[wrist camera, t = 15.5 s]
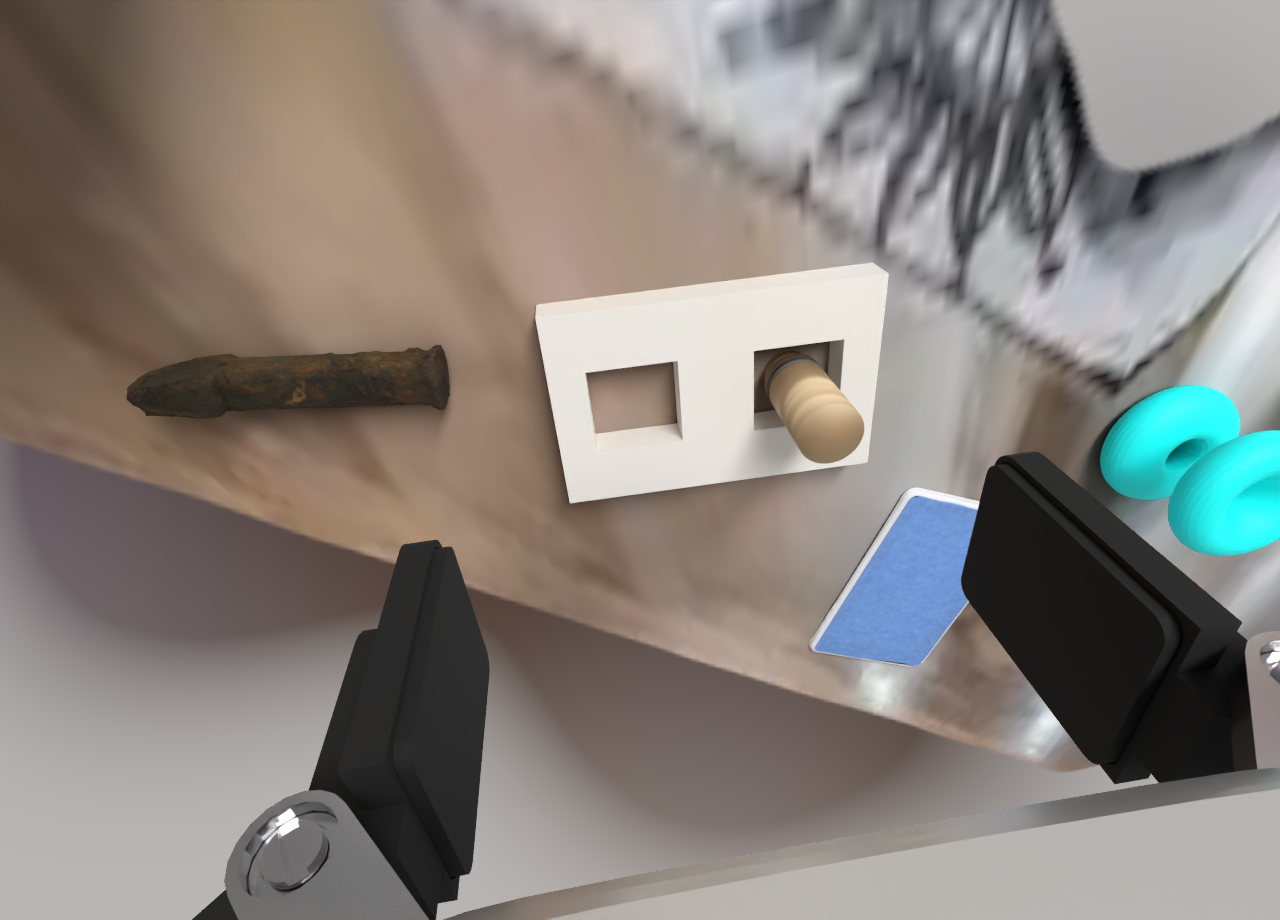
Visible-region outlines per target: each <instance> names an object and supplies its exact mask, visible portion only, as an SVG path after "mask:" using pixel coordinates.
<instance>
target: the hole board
mask: <svg viewBox="0 0 1280 920" xmlns="http://www.w3.org/2000/svg"><path fill="white" fill-rule="evenodd" d="M888 277H889V273H887V272H886V271H884V270H883V269H881V268H880V267H878V266H877V265H875V264H874V263H866V264H858V265H850V266H842V267H834V268H826V269H818V270H810V271H802V272H794V273H786V274H778V275H770V276H762V277H754V278H746V279H738V280H730V281H722V282H714V283H706V284H698V285H690V286H682V287H674V288H666V289H658V290H650V291H642V292H634V293H626V294H618V295H610V296H602V297H594V298H586V299H578V300H570V301H563V302H555V303H547V304H539V305H536V316H535V319H536V325H537V330H538V336H539V341H540V346H541V352H542V357H543V362H544V368H545V373H546V378H547V384H548V389H549V394H550V400H551V405H552V410H553V416H554V421H555V426H556V432H557V437H558V443H559V448H560V453H561V459H562V464H563V469H564V475H565V480H566V485H567V491H568V496H569V501H570V503H577V502H584V501H591V500H599V499H606V498H613V497H620V496H628V495H635V494H642V493H649V492H657V491H664V490H671V489H679V488H686V487H693V486H700V485H708V484H715V483H722V482H729V481H737V480H744V479H751V478H759V477H766V476H773V475H780V474H788V473H795V472H802V471H809V470H817V469H824V468H831V467H839V466H846V465H853V464H860V463H867V462H868V453H869V444H870V435H871V426H872V418H873V409H874V400H875V391H876V382H877V373H878V365H879V356H880V347H881V338H882V329H883V321H884V312H885V303H886V294H887V285H888ZM828 341H830V348H829V362H828V376H829V378H830V379H831V380H832V381H833V382H834V384H835V385H836V386H837V387H838V388H839V390H840V391H841V392H842V393H843V394H844V396H845V397H846V398H847V399H848V401H849V402H850V403H851V404H852V405H853V407H854V408H855V409H856V410H857V411H858V413H859V414H860V415H861V417H862V419H863V422H864V435H863V438H862V440H861V442H860V444H859V445H858V447H857V448H856V449H855V450H854V451H853V452H852V453H851V454H850V455H848V456H847V457H845V458H844V459H842V460H839V461H837V462H833V463H827V464H820V463H815V462H812V461H810V460H808V459H807V458H806V457H805V456H804V455H803V454H802V453H801V451H800V449H799V448H798V446H797V444H796V443H795V441H794V440H793V438H792V436H791V435H790V433H789V431H788V430H787V428H786V426H785V425H784V423H783V421H782V420H781V418H780V416H779V415H778V413H777V411H776V410H772V411H765V412H757V413H754V351H758V350H766V349H774V348H781V347H789V346H797V345H805V344H812V343H820V342H828ZM666 362H673V367H674V381H675V395H676V410H677V423H675V424H667V425H660V426H652V427H645V428H637V429H630V430H622V431H615V432H607V433H600V434H595V428H594V421H593V414H592V408H591V401H590V394H589V388H588V381H587V374H586V373H589V372H596V371H604V370H612V369H619V368H627V367H635V366H643V365H650V364H658V363H666Z"/></svg>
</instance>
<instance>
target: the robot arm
mask: <svg viewBox="0 0 1280 920" xmlns="http://www.w3.org/2000/svg"><path fill="white" fill-rule="evenodd" d="M961 586H962V590H963V593H964V595H965V597H966V598H967V600H968V601H969V602H970V604H971V605H972V606H973V608H974V609H975V610H976V612H977V613H978V614H979V616H980V617H981V618H982V620H983V621H984V622H985V624H986V625H987V626H988V628H989V629H990V630H991V632H992V633H993V634H994V636H995V637H996V638H997V640H998V641H999V642H1000V644H1001V645H1002V646H1003V648H1004V649H1005V650H1006V652H1007V653H1008V654H1009V656H1010V657H1011V658H1012V660H1013V661H1014V662H1015V664H1016V665H1017V666H1018V668H1019V669H1020V670H1021V672H1022V673H1023V674H1024V676H1025V677H1026V678H1027V680H1028V681H1029V682H1030V684H1031V685H1032V686H1033V688H1034V689H1035V690H1036V692H1037V693H1038V694H1039V696H1040V697H1041V698H1042V700H1043V701H1044V702H1045V704H1046V705H1047V706H1048V708H1049V709H1050V710H1051V712H1052V713H1053V714H1054V716H1055V717H1056V718H1057V720H1058V721H1059V722H1060V724H1061V725H1062V726H1063V728H1064V729H1065V730H1066V732H1067V733H1068V734H1069V736H1070V737H1071V738H1072V740H1073V741H1074V742H1075V744H1076V745H1077V746H1078V748H1079V749H1080V750H1081V752H1082V753H1083V754H1084V756H1085V757H1086V758H1087V759H1088V760H1089V761H1091V762H1092V763H1094V764H1097V765H1098V764H1100V766H1101V767H1102V768H1103V770H1104V771H1105V772H1106V773H1107V775H1108V776H1109V777H1110V779H1111V780H1112V781H1113V783H1114V784H1118V783H1124V782H1130V781H1135V780H1141V779H1146V778H1149V776H1150V774H1152V775H1153V776H1154V777H1155V779H1156V780H1157V781H1158V782H1159V783H1157V784H1151V785H1145V786H1138V787H1132V788H1126V789H1121V790H1115V791H1109V792H1103V793H1097V794H1091V795H1086V796H1080V797H1074V798H1068V799H1062V800H1056V801H1050V802H1045V803H1039V804H1033V805H1027V806H1021V807H1015V808H1009V809H1003V810H998V811H992V812H986V813H980V814H975V815H969V816H964V817H957V818H952V819H946V820H940V821H935V822H929V823H924V824H918V825H912V826H906V827H900V828H895V829H889V830H884V831H878V832H872V833H867V834H861V835H855V836H850V837H844V838H838V839H833V840H828V841H822V842H816V843H810V844H804V845H799V846H793V847H788V848H782V849H777V850H771V851H766V852H760V853H755V854H749V855H744V856H738V857H733V858H727V859H722V860H716V861H711V862H705V863H700V864H695V865H689V866H683V867H678V868H672V869H667V870H661V871H656V872H650V873H645V874H639V875H634V876H628V877H623V878H618V879H614V880H609V881H604V882H599V883H593V884H588V885H584V886H579V887H574V888H569V889H564V890H559V891H554V892H549V893H544V894H539V895H534V896H529V897H524V898H520V899H515V900H511V901H508V902H504V903H500V904H496V905H492V906H488V907H484V908H480V909H476V910H472V911H468V912H464V913H462V914H459V915H456V916H453V917H450V918H447V919H444V920H1280V632H1265V633H1261V634H1257V635H1255V636H1254V637H1252V638H1251V639H1250V640H1249V641H1247V640H1246V639H1245V638H1244V637H1243V636H1242V635H1240V634H1239V633H1238V632H1237V630H1238V629H1239V627H1240V625H1241V624H1242V622H1241V621H1240V620H1239V619H1237V618H1236V617H1235V616H1234V615H1233V614H1232V613H1230V612H1229V611H1228V610H1227V609H1226V608H1224V607H1223V606H1222V605H1221V604H1220V603H1218V602H1217V601H1216V600H1215V599H1214V598H1213V597H1211V596H1210V595H1209V594H1208V593H1207V592H1205V591H1204V590H1203V589H1202V588H1201V587H1199V586H1198V585H1197V584H1196V583H1195V582H1193V581H1192V580H1191V579H1190V578H1189V577H1188V576H1186V575H1185V574H1184V573H1183V572H1182V571H1180V570H1179V569H1178V568H1177V567H1176V566H1174V565H1173V564H1172V563H1171V562H1170V561H1169V560H1167V559H1166V558H1165V557H1164V556H1163V555H1161V554H1160V553H1159V552H1158V551H1157V550H1155V549H1154V548H1153V547H1152V546H1151V545H1149V544H1148V543H1147V542H1146V541H1145V540H1144V539H1142V538H1141V537H1140V536H1139V535H1138V534H1136V533H1135V532H1134V531H1133V530H1132V529H1130V528H1129V527H1128V526H1127V525H1126V524H1125V523H1123V522H1122V521H1121V520H1120V519H1119V518H1117V517H1116V516H1115V515H1114V514H1113V513H1111V512H1110V511H1109V510H1108V509H1107V508H1105V507H1104V506H1103V505H1102V504H1101V503H1100V502H1098V501H1097V500H1096V499H1095V498H1094V497H1092V496H1091V495H1090V494H1089V493H1088V492H1086V491H1085V490H1084V489H1083V488H1082V487H1081V486H1079V485H1078V484H1077V483H1076V482H1075V481H1073V480H1072V479H1071V478H1070V477H1069V476H1067V475H1066V474H1065V473H1064V472H1063V471H1061V470H1060V469H1059V468H1058V467H1057V466H1056V465H1054V464H1053V463H1052V462H1051V461H1050V460H1048V459H1047V458H1046V457H1045V456H1044V455H1042V454H1040V453H1039V452H1027V453H1020V454H1013V455H1006V456H1002V457H1000V458H999V459H998V460H997V461H996V463H995V466H992V467H990V468H989V469H988V471H987V474H986V478H985V482H984V486H983V490H982V494H981V499H980V503H979V507H978V511H977V515H976V519H975V523H974V527H973V531H972V535H971V539H970V543H969V547H968V551H967V555H966V559H965V563H964V567H963V571H962V575H961ZM488 682H489V659H488V654H487V650H486V647H485V644H484V641H483V638H482V635H481V632H480V629H479V626H478V623H477V620H476V617H475V614H474V611H473V608H472V605H471V602H470V598H469V595H468V593H467V589H466V586H465V583H464V580H463V577H462V574H461V571H460V568H459V565H458V562H457V559H456V556H455V553H454V551H453V549H452V547H443V548H442V546H441V544H440V542H439V541H438V540H431V541H424V542H418V543H411V544H404V545H403V546H401V549H400V551H399V555H398V558H397V562H396V565H395V569H394V572H393V576H392V580H391V583H390V587H389V590H388V593H387V597H386V601H385V604H384V607H383V611H382V615H381V618H380V622H379V625H378V629H373V630H365V631H363V632H362V633H360V634H359V635H358V638H357V640H356V642H355V645H354V648H353V652H352V654H351V658H350V661H349V664H348V667H347V670H346V674H345V677H344V680H343V683H342V686H341V689H340V693H339V696H338V699H337V702H336V705H335V708H334V712H333V715H332V718H331V721H330V725H329V728H328V731H327V734H326V737H325V741H324V743H323V747H322V750H321V753H320V756H319V759H318V763H317V766H316V769H315V772H314V775H313V778H312V782H311V785H310V788H309V791H304V792H301V793H298V794H295V795H292V796H289V797H287V798H284V799H283V800H281V801H280V802H278V803H276V804H275V805H274V806H272V807H270V808H268V809H267V810H266V811H265V812H264V813H263V814H261V815H260V816H259V817H258V818H257V819H256V820H255V821H254V822H253V823H252V824H250V826H249V827H248V829H247V830H246V831H245V832H244V834H243V835H242V836H241V838H240V839H239V840H238V842H237V843H236V845H235V847H234V850H233V852H232V854H231V856H230V858H229V860H228V863H227V869H226V875H225V881H224V882H225V886H226V890H225V891H224V892H223V893H222V894H220V895H219V896H218V897H217V898H216V899H215V900H214V901H212V902H211V903H210V904H209V905H208V906H207V907H206V908H205V909H203V910H202V911H201V912H200V913H199V914H198V915H197V916H196V917H194V918H193V919H192V920H436V914H437V905H438V903H442V902H448V901H454V900H457V897H458V887H459V877H460V876H461V875H466V874H469V873H470V871H471V867H472V862H473V852H474V841H475V830H476V818H477V806H478V796H479V784H480V773H481V762H482V749H483V739H484V727H485V716H486V705H487V694H488V693H487V692H488Z"/></svg>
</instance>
